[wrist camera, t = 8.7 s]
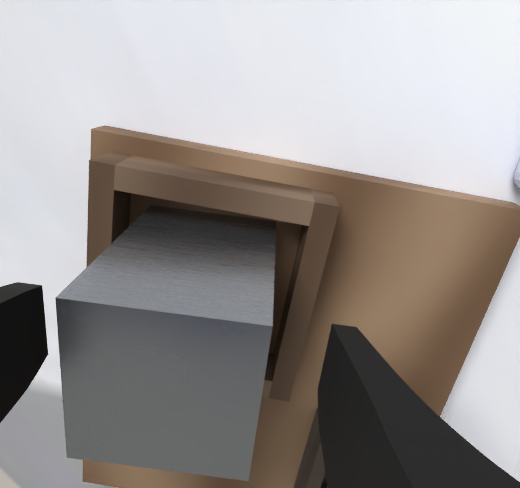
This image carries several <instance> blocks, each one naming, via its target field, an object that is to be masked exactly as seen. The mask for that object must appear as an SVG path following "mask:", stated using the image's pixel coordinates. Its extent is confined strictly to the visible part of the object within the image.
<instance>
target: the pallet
mask: <svg viewBox="0 0 520 488" xmlns="http://www.w3.org/2000/svg"><path fill="white" fill-rule="evenodd" d="M151 205H153V206H161V207H168V208H176V209H184V210H191V211H199V212H207V213H214V214H222V215H229V216H237V217H245V218H252V219H260V220H267V221H275V222H276V244H275V274H274V303H273V328H272V334H271V340H270V347H269V353H268V359H267V366H266V372H265V379H264V385H263V391H262V398H261V404H260V410H259V417H258V423H257V430H256V436H255V442H254V449H253V455H252V462H251V468H250V474H249V481H243V480H235V479H228V478H220V477H212V476H205V475H197V474H189V473H182V472H174V471H167V470H159V469H151V468H144V467H136V466H128V465H121V464H113V463H105V462H98V461H90V460H83V482H89V483H95V484H101V485H107V486H113V487H119V488H327V486H328V485H327V478H326V472H325V466H324V459H323V453H322V446H321V440H320V433H319V422H318V391H317V390H318V385H319V380H320V376H321V371H322V366H323V362H324V357H325V353H326V348H327V343H328V339H329V334H330V330H331V325H332V324H338V325H345V326H353V327H357V328H358V329H359V330H360V331H361V332H362V334H363V335H364V336H365V337H366V338H367V339H368V341H369V342H370V343H371V344H372V345H373V347H374V348H375V349H376V350H377V351H378V352H379V354H380V355H381V356H382V357H383V358H384V359H385V361H386V362H387V363H388V364H389V365H390V366H391V367H392V368H393V370H394V371H395V372H396V373H397V374H398V375H399V376H400V377H401V378H402V380H403V381H404V382H405V383H406V384H407V385H408V386H409V387H410V388H411V389H412V390H413V391H414V392H415V393H416V394H417V395H418V396H419V397H420V398H421V399H422V400H423V401H424V402H425V403H426V404H427V405H428V406H429V407H430V408H431V409H432V410H433V411H434V412H435V413H436V414H437V415H438V416H439V417H440V415H441V412H442V410H443V408H444V406H445V403H446V401H447V399H448V397H449V394H450V392H451V390H452V388H453V385H454V383H455V381H456V379H457V376H458V374H459V372H460V370H461V367H462V365H463V363H464V361H465V358H466V356H467V354H468V352H469V349H470V347H471V345H472V343H473V340H474V338H475V336H476V334H477V331H478V329H479V327H480V325H481V322H482V320H483V318H484V316H485V313H486V311H487V309H488V307H489V304H490V302H491V300H492V298H493V295H494V293H495V291H496V289H497V286H498V284H499V282H500V280H501V277H502V275H503V273H504V271H505V268H506V266H507V264H508V262H509V259H510V257H511V255H512V253H513V250H514V248H515V246H516V244H517V241H518V239H519V237H520V206H519V205H517V204H515V203H512V202H507V201H501V200H496V199H491V198H486V197H480V196H475V195H470V194H464V193H459V192H454V191H448V190H443V189H438V188H433V187H427V186H422V185H417V184H411V183H406V182H401V181H395V180H390V179H385V178H380V177H374V176H369V175H364V174H358V173H353V172H348V171H343V170H337V169H332V168H327V167H321V166H316V165H311V164H305V163H300V162H295V161H290V160H284V159H279V158H274V157H268V156H263V155H258V154H252V153H247V152H242V151H237V150H231V149H226V148H221V147H215V146H210V145H205V144H199V143H194V142H189V141H184V140H178V139H173V138H168V137H162V136H157V135H152V134H146V133H141V132H136V131H131V130H125V129H120V128H115V127H109V126H101V127H97V128H94V129H91V160H89V193H88V235H87V267H88V266H89V265H90V264H91V263H92V262H93V261H94V260H95V259H96V258H97V257H98V256H99V255H100V254H101V253H102V252H103V251H104V250H105V249H107V248H108V247H109V246H110V245H111V244H112V243H113V242H114V241H115V240H116V239H117V238H118V237H119V236H120V235H121V234H122V233H123V232H124V231H125V230H126V229H127V228H128V227H129V226H130V225H131V224H132V223H133V222H134V221H135V220H136V219H137V218H138V217H139V216H141V215H142V214H143V213H144V212H145V211H146V210H147V209H148V208H149V207H150V206H151Z"/></svg>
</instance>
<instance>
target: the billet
mask: <svg viewBox="0 0 520 488" xmlns="http://www.w3.org/2000/svg"><path fill="white" fill-rule="evenodd" d="M275 244H276V222H275V221H267V220H260V219H252V218H245V217H237V216H229V215H222V214H214V213H207V212H199V211H191V210H184V209H176V208H168V207H161V206H153V205H151V206H150V207H149V208H148V209H147V210H146V211H145V212H144V213H143V214H142V215H141V216H139V217H138V218H137V219H136V220H135V221H134V222H133V223H132V224H131V225H130V226H129V227H128V228H127V229H126V230H125V231H124V232H123V233H122V234H121V235H120V236H119V237H118V238H117V239H116V240H115V241H114V242H113V243H112V244H111V245H110V246H109V247H108V248H107V249H105V250H104V251H103V252H102V253H101V254H100V255H99V256H98V257H97V258H96V259H95V260H94V261H93V262H92V263H91V264H90V265H89V266H88V267H87V268H86V269H85V270H84V271H83V272H82V273H81V274H80V275H79V276H78V277H77V278H76V279H75V280H74V281H72V282H71V283H70V284H69V285H68V286H67V287H66V288H65V289H64V290H63V291H62V292H61V293H60V294H59V295H58V296H57V297H56V310H57V324H58V338H59V353H60V367H61V381H62V395H63V409H64V423H65V437H66V451H67V458H75V459H82V460H90V461H98V462H105V463H113V464H121V465H128V466H136V467H144V468H151V469H159V470H167V471H174V472H182V473H189V474H197V475H205V476H212V477H220V478H228V479H235V480H243V481H249V474H250V468H251V462H252V455H253V449H254V442H255V436H256V430H257V423H258V417H259V410H260V404H261V398H262V391H263V385H264V379H265V372H266V366H267V359H268V353H269V347H270V340H271V334H272V328H273V303H274V274H275Z"/></svg>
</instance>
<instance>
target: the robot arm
mask: <svg viewBox="0 0 520 488" xmlns="http://www.w3.org/2000/svg"><path fill="white" fill-rule="evenodd" d="M514 181H515V184H516V185H517V186H518V188H520V161H519V164H518V166H517V168H516V171H515V175H514ZM47 355H48V348H47V337H46V325H45V314H44V302H43V291H42V286H41V285H34V284H26V283H18V282H17V283H13V284H9V285H6V286H2V287H0V423H1V421H2V420H3V419H4V418H5V416H6V415H7V414H8V413H9V411H10V410H11V409H12V408H13V406H14V405H15V404H16V403H17V401H18V400H19V399H20V397H21V396H22V395H23V394H24V392H25V391H26V390H27V388H28V387H29V385H30V383H31V382H32V380H33V379H34V377H35V376H36V374H37V372H38V371H39V369H40V367H41V365H42V364H43V362H44V360H45V358H46V357H47ZM317 391H318V422H319V433H320V440H321V446H322V453H323V459H324V466H325V472H326V478H327V485H328V488H520V482H519V481H517V480H516V479H515V478H513V477H512V476H510V475H509V474H508V473H506V472H505V471H504V470H502V469H501V468H500V467H498V466H497V465H496V464H495V463H493V462H492V461H491V460H489V459H488V458H487V457H486V456H484V455H483V454H482V453H481V452H479V451H478V450H477V449H476V448H475V447H473V446H472V445H471V444H470V443H469V442H468V441H466V440H465V439H464V438H463V437H462V436H461V435H459V434H458V433H457V432H456V431H455V430H454V429H452V428H451V427H450V426H449V425H448V424H447V423H446V422H445V421H444V420H442V419H441V418H440V417H439V416H438V415H437V414H436V413H435V412H434V411H433V410H432V409H431V408H430V407H429V406H428V405H427V404H426V403H425V402H424V401H423V400H422V399H421V398H420V397H419V396H418V395H417V394H416V393H415V392H414V391H413V390H412V389H411V388H410V387H409V386H408V385H407V384H406V383H405V382H404V381H403V380H402V378H401V377H400V376H399V375H398V374H397V373H396V372H395V371H394V370H393V368H392V367H391V366H390V365H389V364H388V363H387V362H386V361H385V359H384V358H383V357H382V356H381V355H380V354H379V352H378V351H377V350H376V349H375V348H374V347H373V345H372V344H371V343H370V342H369V341H368V339H367V338H366V337H365V336H364V335H363V334H362V332H361V331H360V330H359V329H358V328H357V327H353V326H345V325H338V324H332V325H331V330H330V334H329V339H328V343H327V348H326V353H325V357H324V362H323V366H322V371H321V376H320V380H319V385H318V390H317Z"/></svg>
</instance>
